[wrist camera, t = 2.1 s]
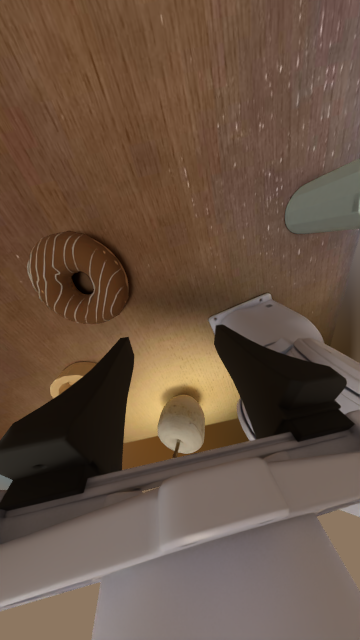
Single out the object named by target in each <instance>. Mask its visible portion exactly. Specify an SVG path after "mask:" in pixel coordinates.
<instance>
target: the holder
mask: <svg viewBox="0 0 360 640" xmlns="http://www.w3.org/2000/svg"><path fill="white" fill-rule="evenodd" d="M95 365H96V363H92V362H78V363H74V364H71V365H69V366H68V367H67V368H65V369H64V370H63V372H62V373H61V374H60V375H59V376H58V377H57V378H56V380H55V381H54V382H53V383H52V385H51V386H50V393H51V396H52V397H53V398H55V397H57V396H58V395H59V394H61V393H62V392H64V391H65V390H66V389H68V388H69V387H70V386H72V385H73V384H74V383H76V382H77V381H78V380H79V379H81V378H82V377H83V376H84V375H85V374H87V373H88V372H89V371H90V370H91V369H92V368H93V367H94V366H95Z"/></svg>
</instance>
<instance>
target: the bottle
mask: <svg viewBox="0 0 360 640" xmlns="http://www.w3.org/2000/svg"><path fill="white" fill-rule="evenodd" d="M285 223H286V226H287V228H288V229H289V230H290V231H291V232H293V233H296V234H309V233H320V232H330V231H340V230H350V229H360V158H359V159H357V160H355V161H353V162H351V163H349V164H346V165H344V166H342V167H340V168H338V169H336V170H334V171H332V172H329V173H327V174H325V175H323V176H321V177H319V178H317V179H315V180H313V181H311V182H309V183H307V184H305V185H303V186H302V187H300V188H299V189H298V190H297V191H296V192H295V193H294V195H293V196H292V198H291V199H290V201H289V203H288V205H287V208H286V212H285Z"/></svg>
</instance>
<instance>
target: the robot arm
mask: <svg viewBox="0 0 360 640" xmlns="http://www.w3.org/2000/svg"><path fill="white" fill-rule="evenodd" d="M260 299H261V300H260ZM259 300H260V301H259ZM214 318H216V319H214ZM209 323H210V325H211V327H212V330H213V332H214V334H215V340H214V345H215V348H216V350H217V352H218V355H219V357H220V358H221V360H222V362H223V364H224V365H225V367H226V369H227V371H228V372H229V374H230V376H231V378H232V380H233V381H234V384H235V386H236V388H237V390H238V393H239V395H240V397H241V398H240V399H239V400H238V403H237V414H238V418H239V420H240V423H241V425H242V428H243V430H244V432H245V433H246V435H247V437H248V438H249V440H250V441H248V442H244V443H239V444H235V445H230V446H226V447H222V448H217V449H213V450H209V451H204V452H200V453H195V454H191V455H187V456H183V457H178V458H174V459H170V460H165V461H161V462H156V463H152V464H148V465H143V466H139V467H135V468H130V469H126V470H122V454H123V438H124V425H125V413H126V404H127V397H128V392H129V387H130V382H131V377H132V372H133V367H134V354H133V350H132V347H131V344H130V340H129V337H125V338H120V339H119V340H118V342H117V343H116V344H115V345H114V346H113V347H112V348H111V350H110V351H109V352H108V353H107V354H106V355H105V356H104V357H103V358H102V359H101V360H100V361H99V362H98V363H97V364H96V365H95V366H94V367H93V368H92V369H91V370H90V371H89V372H88V373H87V374H85V375H84V376H83V377H82V378H81V379H79V380H78V381H77V382H76V383H74V384H73V385H72V386H70V387H69V388H68V389H66V390H65V391H64V392H62V393H61V394H59V395H58V396H57V397H55V398H54V399H52V400H51V401H49V402H48V403H46V404H45V405H43V406H42V407H40V408H38V409H37V410H35V411H33V412H32V413H30V414H28V415H27V416H25V417H24V418H22V419H20V420H19V421H17V422H15V423H13V424H12V426H11V427H10V428H9V430H8V431H7V432H6V434H5V435H4V436H3V437H2V439H1V440H0V474H1V475H3V476H5V477H8V478H10V479H12V480H13V481H12V483H11V485H10V486H9V488H8V490H0V611H2V610H6V609H10V608H13V607H16V606H20V605H23V604H27V603H30V602H33V601H37V600H40V599H43V598H47V597H50V596H54V595H57V594H61V593H64V592H67V591H71V590H74V589H78V588H81V587H85V586H88V585H91V584H95V583H98V582H101V583H100V590H99V597H98V602H97V609H96V615H95V621H94V628H93V634H92V640H360V591H359V589H358V587H357V586H356V584H355V582H354V580H353V579H352V577H351V575H350V574H349V572H348V570H347V568H346V567H345V565H344V563H343V561H342V560H341V558H340V556H339V554H338V553H337V551H336V549H335V548H334V546H333V544H332V543H331V541H330V539H329V537H328V536H327V534H326V532H325V530H324V529H323V527H322V525H321V523H320V522H319V520H318V519H317V517H316V516H319V515H322V514H325V513H329V512H332V511H335V510H342V511H344V512H347V513H350V514H353V515H356V516H359V517H360V363H358V362H356V361H355V360H353V359H351V358H349V357H348V356H346V355H344V354H342V353H341V352H339V351H337V350H335V349H333V348H332V347H330V346H328V345H326V344H324V341H323V338H322V336H321V334H320V332H319V331H318V329H317V328H316V327H315V326H314V325H313V324H312V323H311V322H310V321H309V320H308V319H307V318H306V317H304V316H303V315H301V314H299V313H297V312H295V311H293V310H291V309H289V308H288V307H286V306H284V305H282V304H280V303H278V302H276V301H274V300H272V297H271V294H269V293H266V294H263V295H261V296H259V297H256V298H254V299H252V300H249V301H247V302H244V303H242V304H240V305H237V306H235V307H233V308H230V309H228V310H226V311H223V312H221V313H218V314H216V315H214V316H211V317H210V318H209ZM156 487H159V488H156ZM152 488H156V489H153V490H150V491H148V492H145V493H142V491H143V490H148V489H152Z"/></svg>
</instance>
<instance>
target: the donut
mask: <svg viewBox="0 0 360 640" xmlns="http://www.w3.org/2000/svg"><path fill="white" fill-rule="evenodd" d="M27 269H28V275H29V277H30V276H31V277H30V279H31V281H32V284H33V287H34V286H35V287H34V289H35V288H36V289H35V290H37V292H38V294H39V298H40V299H41V301H43V302H44V303H45V304H46V305H47V306H48V307H49V308H51V309H52V310H53V311H55V312H56V313H57V314H59V315H60V316H62V317H64V318H66V319H69V320H71V321H74V322H77V323H83V324H98V323H103V322H106V321H108V320H110V319H112V318H114V317H115V316H117V315H119V314H120V313H121V311H122V310H123V308H124V306H125V304H126V302H127V300H128V290H129V287H128V280H127V276H126V273H125V271H124V269H123V267H122V265H121V263H120V262H119V260H118V259H117V258H116V257H115V255H114V254H113V253H112V252H111V251H110V250H109V249H107V248H106V247H105V246H104V245H102V244H101V243H99V242H98V241H96V240H94V239H92V238H91V237H89V236H87V235H86V234H82V233H76V232H72V231H67V232H62V233H57V234H52V235H49V236H47V237H45V238H43V239H41V240H40V241H39V242H38V243H37V244H36V245H35V246H34V248H33V249H32V251H31V254H30V256H29V262H28V266H27ZM78 271H82V272H84V273H85V274H87V275H88V276H89V277H90V279H91V281H92V283H93V286H94V292H93V293H92V294H90V295H87V294H83V293H81V292H80V291H78V289H77V288H76V287H75V286H74V284H73V281H72V275H73V274H74V273H78Z"/></svg>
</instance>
